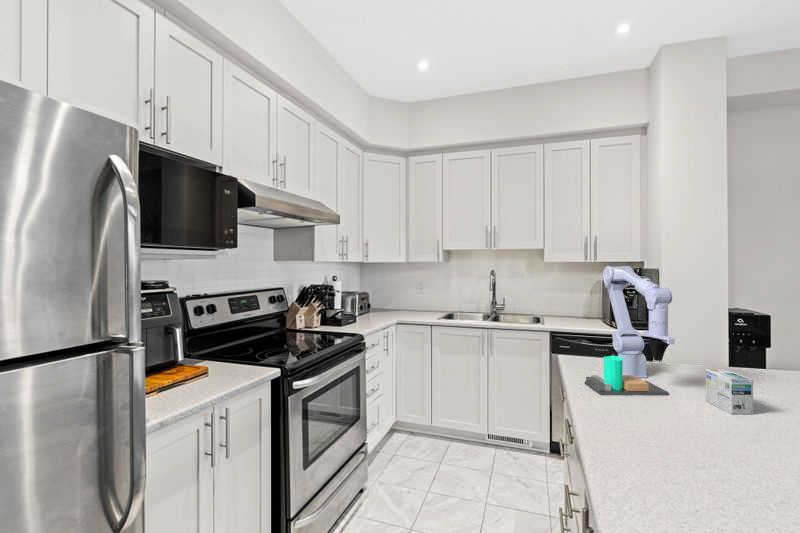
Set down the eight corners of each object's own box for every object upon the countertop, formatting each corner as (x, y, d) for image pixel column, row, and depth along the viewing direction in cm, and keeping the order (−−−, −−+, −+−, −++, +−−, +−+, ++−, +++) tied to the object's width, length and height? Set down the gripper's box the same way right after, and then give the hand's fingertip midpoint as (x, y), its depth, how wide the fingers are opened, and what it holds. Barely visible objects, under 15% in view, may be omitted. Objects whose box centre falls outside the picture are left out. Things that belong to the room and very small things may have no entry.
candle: (620, 385, 141) (620, 352, 141) (624, 390, 135) (624, 356, 135) (601, 383, 143) (601, 351, 143) (605, 389, 137) (605, 355, 137)
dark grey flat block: (647, 383, 146) (647, 374, 145) (668, 395, 134) (668, 385, 133) (584, 383, 146) (584, 374, 146) (600, 395, 134) (600, 385, 134)
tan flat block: (632, 381, 145) (632, 375, 145) (648, 391, 135) (648, 383, 135) (612, 381, 145) (612, 375, 145) (627, 391, 135) (628, 383, 135)
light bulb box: (754, 414, 117) (754, 378, 117) (731, 414, 117) (731, 378, 117) (725, 401, 128) (725, 368, 127) (704, 401, 128) (704, 368, 127)
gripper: (634, 318, 146) (634, 355, 147) (659, 325, 132) (659, 365, 132) (654, 318, 146) (653, 355, 146) (681, 325, 132) (680, 365, 132)
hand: (657, 360), depth 139 cm, fingers closed
